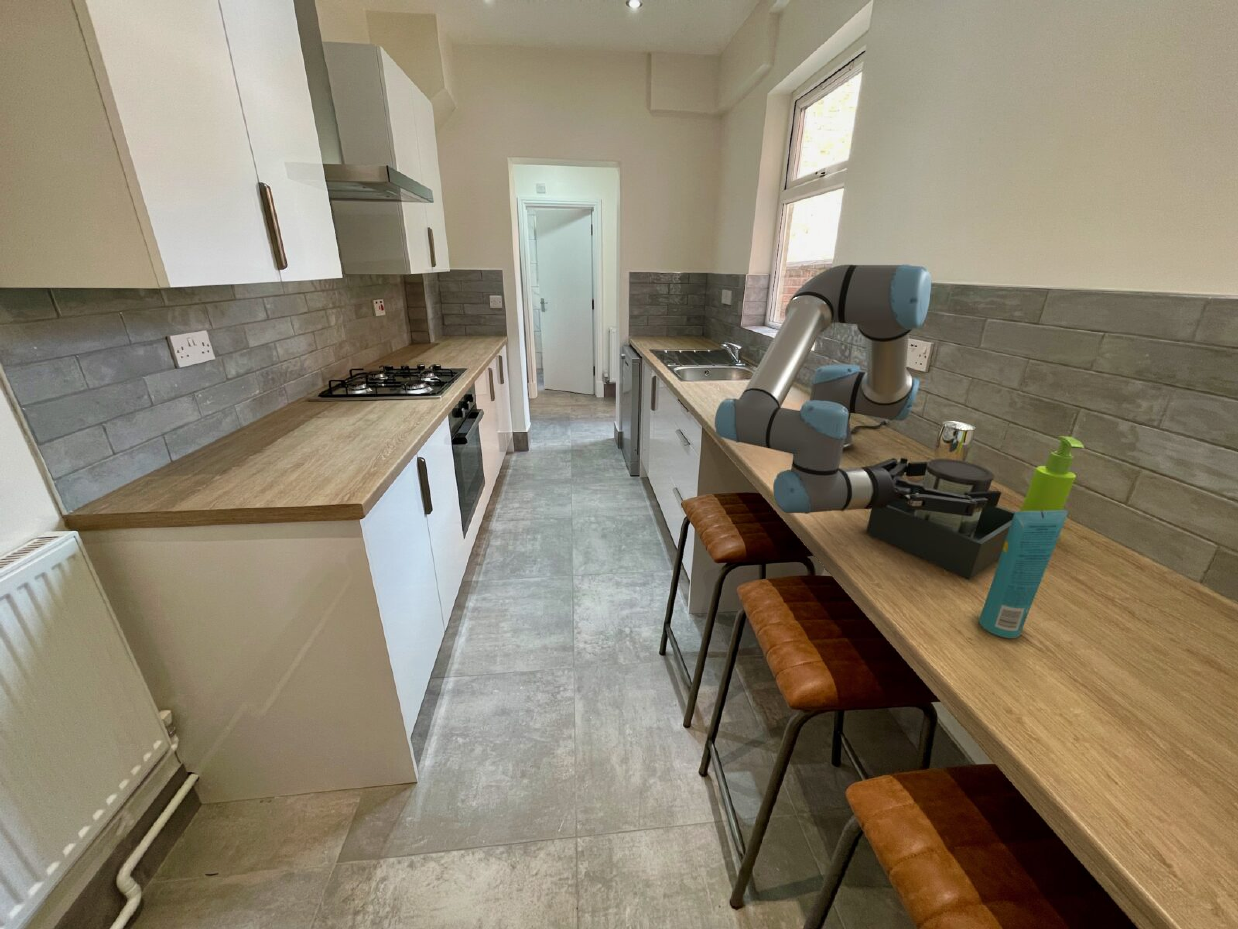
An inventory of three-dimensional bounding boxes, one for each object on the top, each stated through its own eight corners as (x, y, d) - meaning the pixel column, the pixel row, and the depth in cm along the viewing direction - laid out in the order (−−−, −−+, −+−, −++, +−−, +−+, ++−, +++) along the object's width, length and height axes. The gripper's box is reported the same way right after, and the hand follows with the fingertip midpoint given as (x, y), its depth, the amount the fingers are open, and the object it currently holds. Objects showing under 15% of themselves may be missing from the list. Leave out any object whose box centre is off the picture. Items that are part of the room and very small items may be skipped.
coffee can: (957, 526, 98) (978, 461, 93) (981, 553, 89) (1006, 482, 83) (901, 520, 100) (918, 456, 94) (919, 546, 90) (940, 476, 85)
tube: (1004, 614, 74) (1048, 501, 67) (1035, 636, 70) (1085, 518, 63) (962, 619, 73) (1002, 504, 66) (990, 642, 69) (1036, 522, 61)
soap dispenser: (1022, 537, 96) (1059, 442, 89) (1010, 522, 102) (1043, 431, 95) (1059, 543, 94) (1099, 446, 87) (1044, 527, 100) (1080, 435, 93)
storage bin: (913, 509, 107) (921, 480, 104) (1013, 548, 92) (1026, 515, 90) (865, 532, 97) (873, 501, 94) (969, 579, 83) (981, 544, 80)
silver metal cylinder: (953, 491, 116) (971, 431, 110) (921, 482, 120) (937, 424, 115) (962, 484, 120) (980, 425, 114) (931, 475, 125) (947, 419, 119)
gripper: (820, 479, 100) (912, 474, 103) (904, 543, 77) (1019, 534, 80) (826, 444, 97) (921, 440, 100) (915, 500, 74) (1035, 493, 78)
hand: (965, 482), depth 90 cm, fingers open, 13 cm apart
